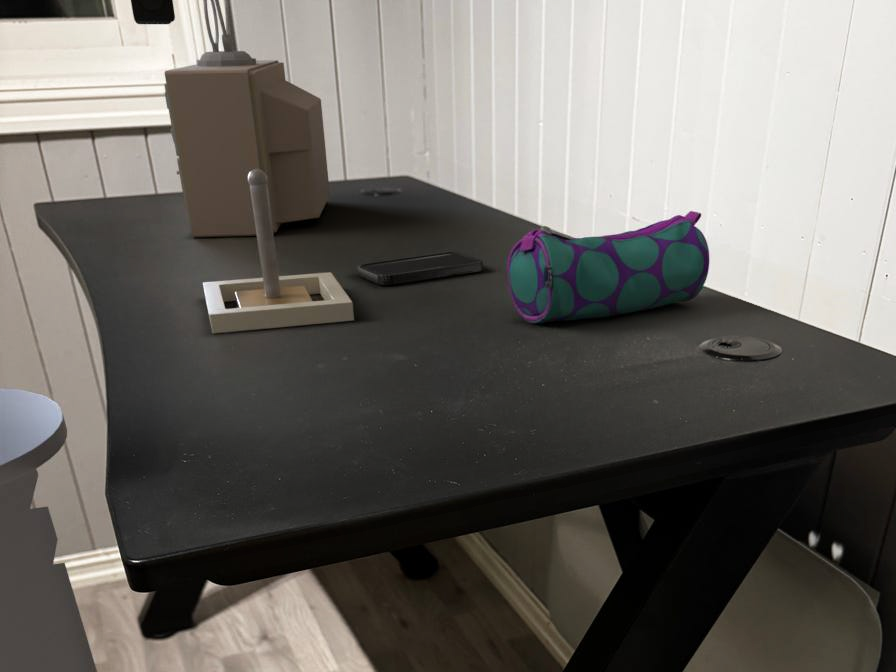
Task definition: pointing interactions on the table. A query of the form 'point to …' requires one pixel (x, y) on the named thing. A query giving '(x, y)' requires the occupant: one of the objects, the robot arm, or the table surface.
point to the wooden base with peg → (267, 254)
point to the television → (244, 139)
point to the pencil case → (607, 271)
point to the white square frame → (280, 315)
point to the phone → (419, 268)
